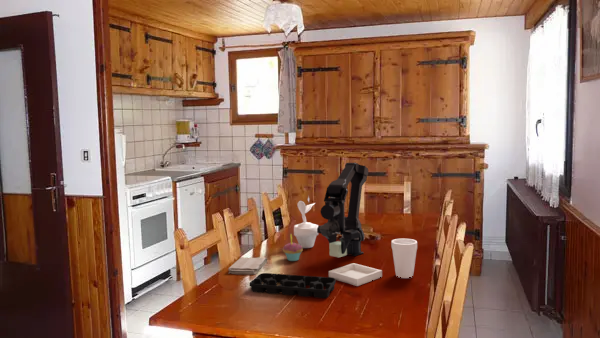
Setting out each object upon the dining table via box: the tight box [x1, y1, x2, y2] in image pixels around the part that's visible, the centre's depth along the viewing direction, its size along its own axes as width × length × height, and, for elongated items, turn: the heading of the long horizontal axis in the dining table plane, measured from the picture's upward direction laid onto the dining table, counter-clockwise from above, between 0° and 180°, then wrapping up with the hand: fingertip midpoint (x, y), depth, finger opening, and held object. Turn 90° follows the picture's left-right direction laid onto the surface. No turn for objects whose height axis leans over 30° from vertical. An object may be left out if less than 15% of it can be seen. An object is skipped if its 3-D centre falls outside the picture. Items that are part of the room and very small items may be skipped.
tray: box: [328, 262, 383, 287], centre depth 186 cm, size 14×14×2 cm
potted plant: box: [293, 194, 319, 249], centre depth 232 cm, size 13×12×25 cm
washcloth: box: [228, 256, 268, 276], centre depth 202 cm, size 12×18×3 cm, turn 171°
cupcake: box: [282, 233, 304, 262], centre depth 212 cm, size 9×8×12 cm
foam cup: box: [390, 237, 418, 279], centre depth 186 cm, size 10×9×13 cm
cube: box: [328, 240, 348, 258], centre depth 203 cm, size 5×5×5 cm
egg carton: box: [249, 272, 337, 299], centre depth 175 cm, size 18×30×4 cm, turn 85°
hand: (338, 252), depth 203 cm, fingers closed on cube, 5 cm apart
